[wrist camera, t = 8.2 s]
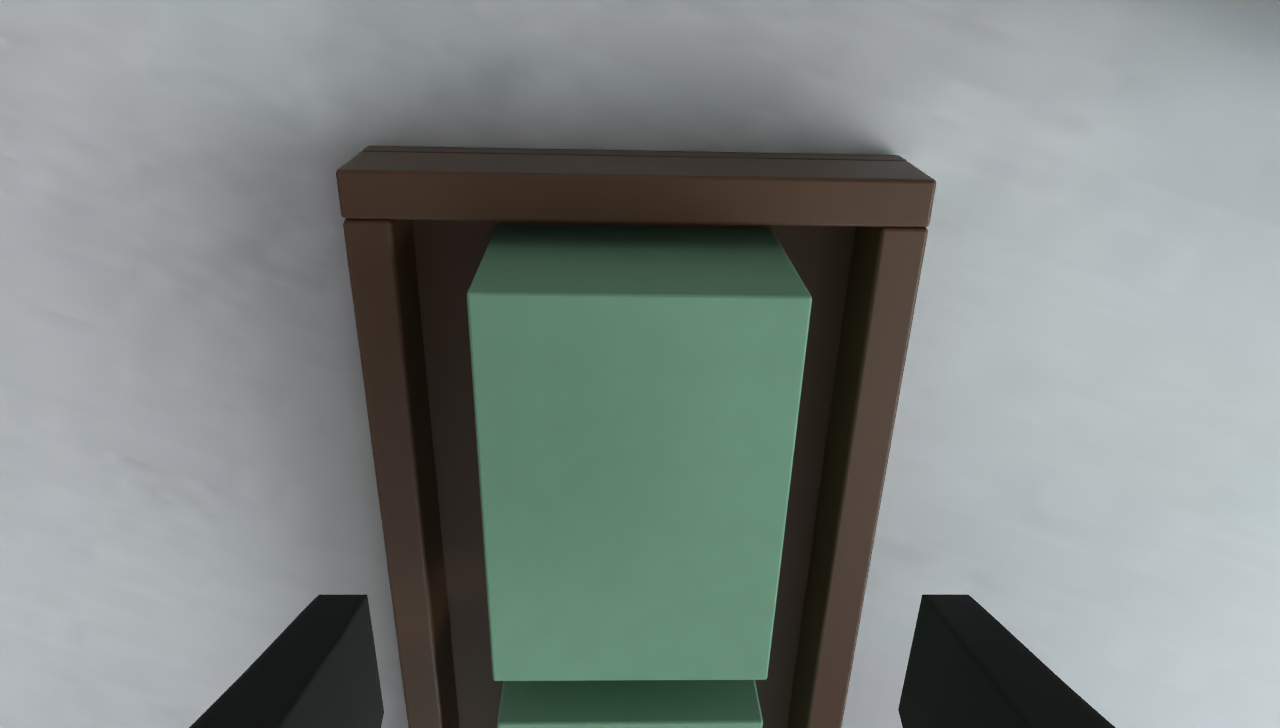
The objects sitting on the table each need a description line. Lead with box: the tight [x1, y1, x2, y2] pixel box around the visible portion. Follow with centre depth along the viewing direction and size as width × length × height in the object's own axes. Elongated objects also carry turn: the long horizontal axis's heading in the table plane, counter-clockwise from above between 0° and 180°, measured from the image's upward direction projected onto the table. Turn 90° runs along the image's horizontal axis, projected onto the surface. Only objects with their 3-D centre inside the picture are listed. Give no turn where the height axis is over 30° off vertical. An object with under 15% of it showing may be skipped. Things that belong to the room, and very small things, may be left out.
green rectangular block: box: [467, 225, 812, 681], centre depth 15 cm, size 8×5×4 cm, turn 179°
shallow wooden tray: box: [336, 146, 936, 728], centre depth 18 cm, size 19×10×2 cm, turn 179°
